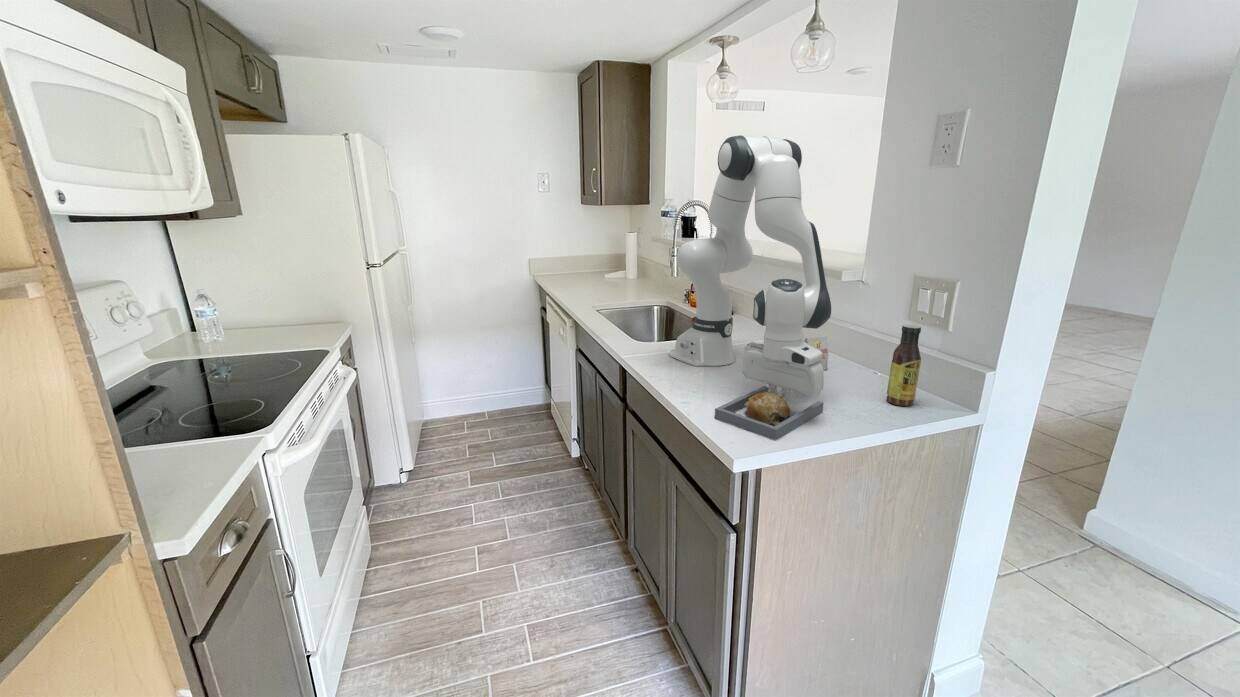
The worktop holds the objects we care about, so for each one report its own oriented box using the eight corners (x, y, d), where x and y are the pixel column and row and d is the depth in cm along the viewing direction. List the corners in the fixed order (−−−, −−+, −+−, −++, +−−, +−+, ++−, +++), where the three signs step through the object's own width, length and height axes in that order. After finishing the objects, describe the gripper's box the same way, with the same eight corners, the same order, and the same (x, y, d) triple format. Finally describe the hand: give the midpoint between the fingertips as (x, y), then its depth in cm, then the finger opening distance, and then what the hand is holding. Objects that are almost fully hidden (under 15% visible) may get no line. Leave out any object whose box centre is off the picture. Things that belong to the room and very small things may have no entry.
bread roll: (759, 440, 118) (772, 417, 113) (733, 409, 125) (743, 386, 120) (789, 430, 123) (803, 407, 118) (763, 401, 129) (774, 378, 124)
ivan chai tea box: (799, 368, 155) (802, 337, 153) (820, 366, 157) (823, 335, 154) (806, 372, 152) (808, 340, 149) (826, 370, 153) (829, 338, 150)
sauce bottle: (902, 409, 124) (913, 330, 119) (880, 400, 130) (889, 325, 124) (920, 404, 127) (932, 327, 121) (897, 395, 132) (907, 321, 127)
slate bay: (714, 418, 122) (715, 408, 122) (764, 394, 136) (764, 385, 135) (775, 440, 111) (776, 429, 110) (822, 412, 124) (823, 402, 123)
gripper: (738, 343, 127) (736, 395, 131) (815, 360, 112) (810, 418, 116) (752, 338, 131) (750, 388, 135) (829, 354, 116) (824, 410, 120)
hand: (778, 402), depth 125 cm, fingers closed, pressing on bread roll
